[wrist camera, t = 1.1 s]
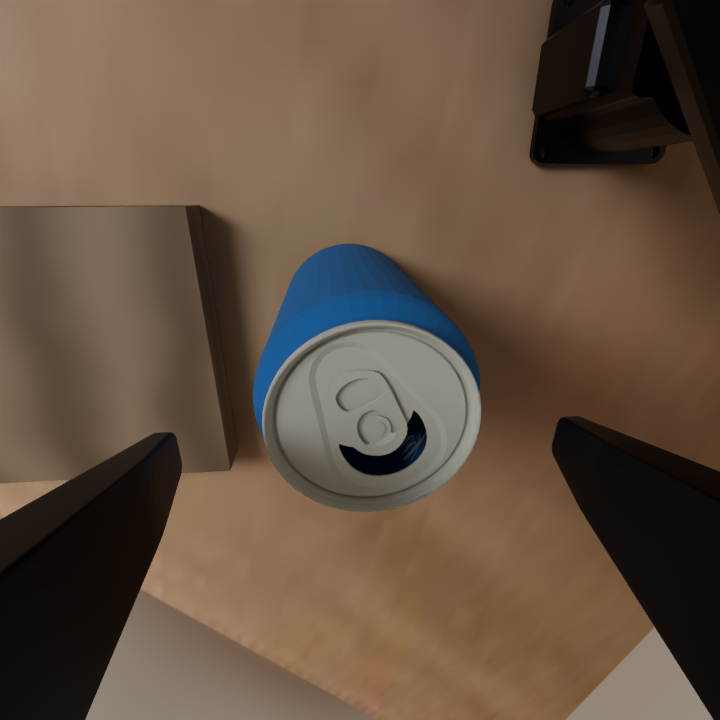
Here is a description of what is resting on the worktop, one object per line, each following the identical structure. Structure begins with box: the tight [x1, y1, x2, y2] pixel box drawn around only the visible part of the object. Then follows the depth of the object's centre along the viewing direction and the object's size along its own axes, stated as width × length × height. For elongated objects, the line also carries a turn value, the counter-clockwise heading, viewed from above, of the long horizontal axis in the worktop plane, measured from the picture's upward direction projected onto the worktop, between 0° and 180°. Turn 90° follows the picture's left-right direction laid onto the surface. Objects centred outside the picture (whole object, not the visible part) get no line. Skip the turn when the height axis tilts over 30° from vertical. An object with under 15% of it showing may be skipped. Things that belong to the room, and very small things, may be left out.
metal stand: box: [0, 205, 238, 483], centre depth 20 cm, size 14×14×2 cm
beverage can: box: [253, 244, 481, 512], centre depth 15 cm, size 6×6×12 cm
